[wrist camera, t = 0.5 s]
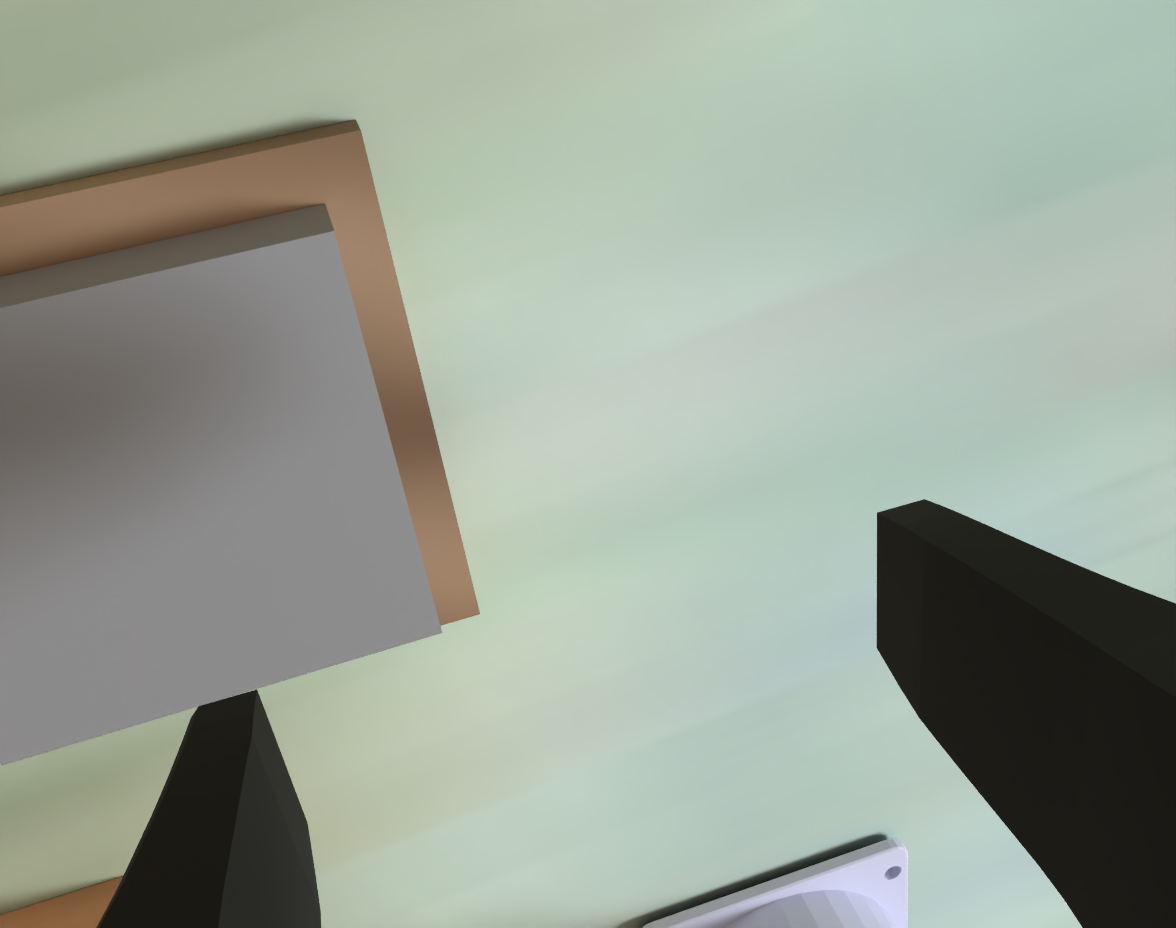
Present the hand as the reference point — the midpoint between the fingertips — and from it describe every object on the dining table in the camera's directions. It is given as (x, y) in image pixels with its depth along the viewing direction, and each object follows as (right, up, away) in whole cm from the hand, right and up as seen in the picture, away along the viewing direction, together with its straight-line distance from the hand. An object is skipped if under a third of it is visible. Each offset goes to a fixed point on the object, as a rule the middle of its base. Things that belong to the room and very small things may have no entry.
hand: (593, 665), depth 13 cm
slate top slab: (-8, +2, +7) cm, 11 cm away
